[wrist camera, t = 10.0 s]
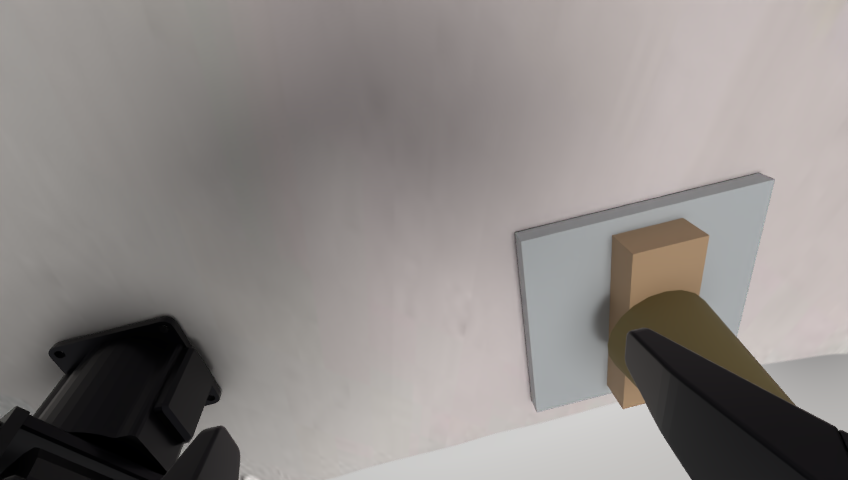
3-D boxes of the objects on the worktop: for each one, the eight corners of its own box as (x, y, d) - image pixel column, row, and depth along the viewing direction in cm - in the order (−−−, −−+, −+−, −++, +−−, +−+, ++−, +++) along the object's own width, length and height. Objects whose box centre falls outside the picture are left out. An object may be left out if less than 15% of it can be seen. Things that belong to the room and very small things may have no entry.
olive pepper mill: (619, 385, 26) (770, 605, 17) (596, 320, 23) (764, 542, 14) (714, 344, 26) (927, 548, 16) (703, 272, 23) (955, 469, 13)
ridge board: (531, 400, 30) (548, 437, 28) (514, 232, 23) (535, 261, 21) (719, 352, 31) (753, 385, 28) (759, 172, 24) (809, 194, 21)
